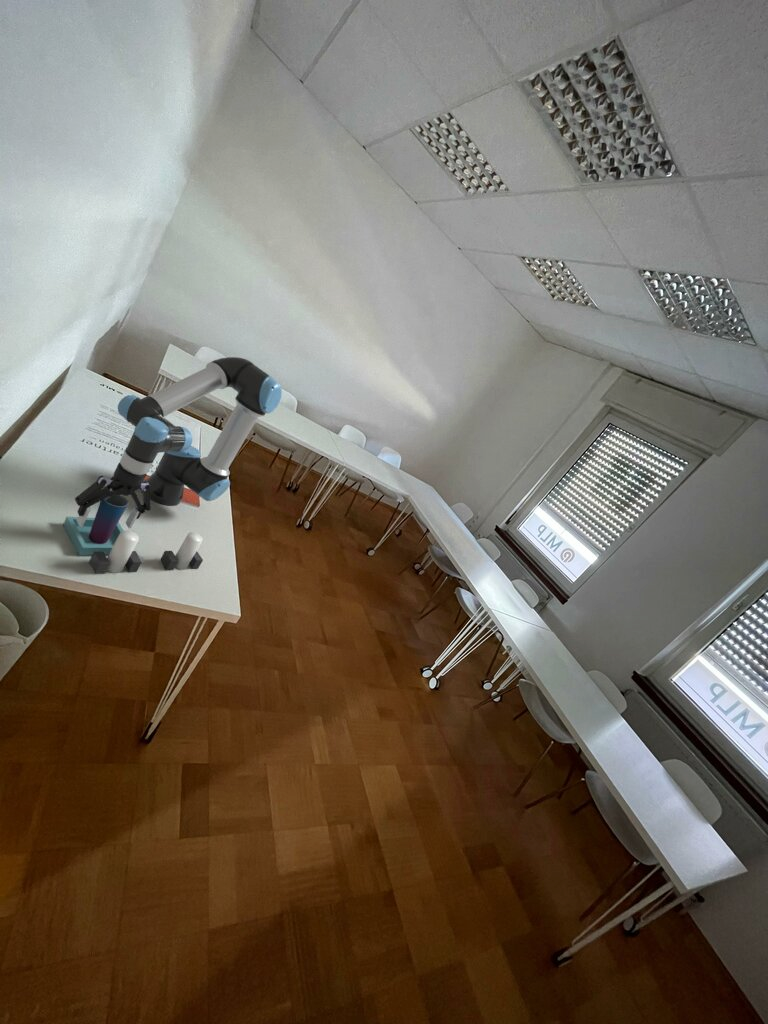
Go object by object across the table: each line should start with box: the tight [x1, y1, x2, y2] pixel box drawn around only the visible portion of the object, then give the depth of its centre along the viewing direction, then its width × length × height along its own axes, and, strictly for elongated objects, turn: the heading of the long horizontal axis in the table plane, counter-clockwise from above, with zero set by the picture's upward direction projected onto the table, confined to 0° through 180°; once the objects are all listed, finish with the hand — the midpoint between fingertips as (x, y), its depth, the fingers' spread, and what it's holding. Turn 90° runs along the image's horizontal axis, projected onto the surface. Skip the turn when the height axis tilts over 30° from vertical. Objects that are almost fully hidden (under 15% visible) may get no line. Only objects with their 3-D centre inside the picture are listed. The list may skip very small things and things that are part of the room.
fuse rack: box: [88, 529, 204, 575], centre depth 130 cm, size 32×5×12 cm, turn 142°
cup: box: [89, 494, 129, 544], centre depth 126 cm, size 7×7×15 cm
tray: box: [62, 516, 125, 557], centre depth 127 cm, size 14×14×3 cm
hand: (104, 524), depth 126 cm, fingers open, 13 cm apart
